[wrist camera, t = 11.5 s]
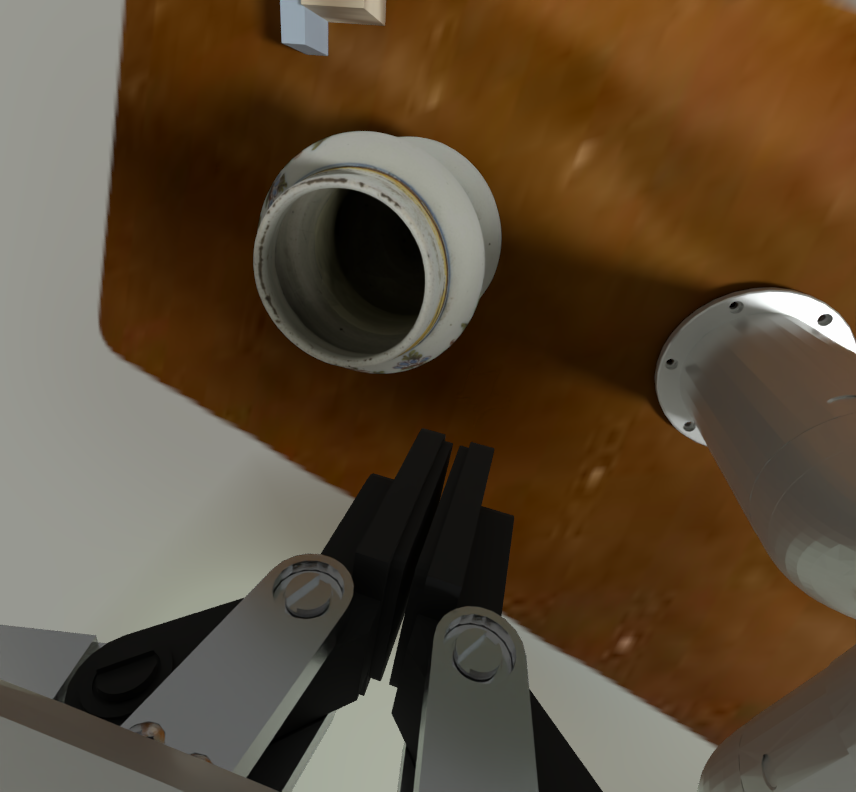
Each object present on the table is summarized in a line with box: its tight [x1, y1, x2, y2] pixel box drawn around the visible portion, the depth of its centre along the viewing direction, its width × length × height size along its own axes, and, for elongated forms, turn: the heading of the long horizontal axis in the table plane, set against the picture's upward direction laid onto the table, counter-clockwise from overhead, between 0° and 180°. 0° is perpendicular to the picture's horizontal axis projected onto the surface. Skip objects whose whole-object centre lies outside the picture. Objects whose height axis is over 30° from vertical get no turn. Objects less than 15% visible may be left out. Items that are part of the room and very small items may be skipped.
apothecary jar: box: [253, 131, 501, 374], centre depth 29 cm, size 12×12×18 cm
